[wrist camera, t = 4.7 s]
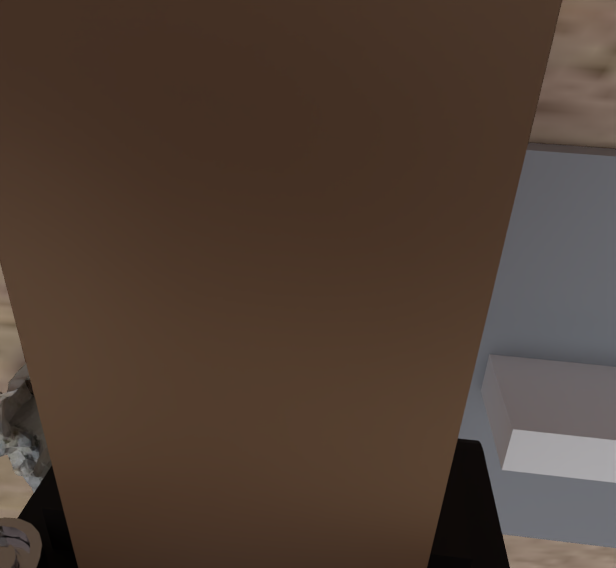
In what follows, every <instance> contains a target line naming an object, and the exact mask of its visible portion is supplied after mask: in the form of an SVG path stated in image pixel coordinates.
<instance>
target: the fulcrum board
mask: <svg viewBox="0 0 616 568" xmlns="http://www.w3.org/2000/svg"><path fill="white" fill-rule="evenodd" d="M458 438H459V439H469V440H478V441H479V442H480V443H481V445H482V448H483V451H484V455H485V460H486V464H487V469H488V473H489V478H490V482H491V486H492V491H493V495H494V500H495V504H496V509H497V513H498V518H499V522H500V527H501V531H502V534H505V535H514V536H522V537H530V538H538V539H546V540H555V541H563V542H571V543H579V544H588V545H596V546H604V547H612V548H616V149H611V148H597V147H583V146H569V145H555V144H541V143H528V146H527V150H526V154H525V158H524V163H523V167H522V171H521V175H520V179H519V184H518V188H517V192H516V196H515V200H514V205H513V209H512V213H511V217H510V221H509V226H508V230H507V234H506V238H505V242H504V247H503V251H502V255H501V259H500V263H499V268H498V272H497V276H496V280H495V284H494V289H493V293H492V297H491V301H490V305H489V310H488V314H487V318H486V322H485V326H484V330H483V335H482V339H481V343H480V347H479V351H478V356H477V360H476V364H475V368H474V372H473V377H472V381H471V385H470V389H469V393H468V398H467V402H466V406H465V410H464V414H463V419H462V423H461V427H460V431H459V435H458Z"/></svg>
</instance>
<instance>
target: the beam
mask: <svg viewBox="0 0 616 568" xmlns="http://www.w3.org/2000/svg"><path fill="white" fill-rule="evenodd" d="M561 3H562V0H0V263H1V267H2V271H3V275H4V279H5V283H6V287H7V291H8V294H9V298H10V302H11V306H12V310H13V314H14V318H15V322H16V326H17V330H18V334H19V338H20V341H21V345H22V349H23V353H24V357H25V361H26V365H27V369H28V373H29V377H30V381H31V385H32V389H33V392H34V396H35V400H36V404H37V408H38V412H39V416H40V420H41V424H42V428H43V432H44V436H45V439H46V443H47V447H48V451H49V455H50V459H51V463H52V467H53V471H54V475H55V479H56V483H57V486H58V490H59V494H60V498H61V502H62V506H63V510H64V514H65V518H66V522H67V526H68V530H69V533H70V537H71V541H72V545H73V549H74V553H75V557H76V561H77V565H78V568H427V566H428V561H429V557H430V553H431V549H432V545H433V540H434V536H435V532H436V528H437V524H438V519H439V515H440V511H441V507H442V503H443V498H444V494H445V490H446V486H447V482H448V477H449V473H450V469H451V465H452V461H453V456H454V452H455V448H456V444H457V440H458V435H459V431H460V427H461V423H462V419H463V414H464V410H465V406H466V402H467V398H468V393H469V389H470V385H471V381H472V377H473V372H474V368H475V364H476V360H477V356H478V351H479V347H480V343H481V339H482V335H483V330H484V326H485V322H486V318H487V314H488V310H489V305H490V301H491V297H492V293H493V289H494V284H495V280H496V276H497V272H498V268H499V263H500V259H501V255H502V251H503V247H504V242H505V238H506V234H507V230H508V226H509V221H510V217H511V213H512V209H513V205H514V200H515V196H516V192H517V188H518V184H519V179H520V175H521V171H522V167H523V163H524V158H525V154H526V150H527V146H528V142H529V137H530V133H531V129H532V125H533V121H534V116H535V112H536V108H537V104H538V100H539V95H540V91H541V87H542V83H543V79H544V75H545V70H546V66H547V62H548V58H549V54H550V49H551V45H552V41H553V37H554V33H555V28H556V24H557V20H558V16H559V12H560V7H561Z"/></svg>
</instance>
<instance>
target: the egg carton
mask: <svg viewBox="0 0 616 568" xmlns="http://www.w3.org/2000/svg"><path fill="white" fill-rule="evenodd" d="M28 379H30V377H29V373H28V369H27V365H26V364H25V365H24V366H23V367H22V368H21V369H20V370H19V371H18V372H17V373H16V374H15V376H14V377H13V378H12V379H11V380H10V382H9V384H8V390H7V393H2V392H0V457H1V456H3V455H8V456H9V459H10V461H11V463H12V466H13V470H14V472H15V473H16V475H18V476H23V477H24V479H25V480H26V482H27V483H28V484H29V485H30V486H31V487H32V490H33V493H34V492H35V490H36V489H37V487H38V486H39V484H40V483H41V481H42V480H43V478H44V476H45V475H46V473H47V472H48V470H49V469H50V467H51V466H52V463H51V459H50V455H49V451H48V447H47V443H46V439H45V436H44V432H43V428H42V424H41V420H40V416H39V412H38V408H37V404H36V400H35V396H33V395H32V394H31V392H30V390H29V389H28V387H27V385H26V382H25V380H28Z"/></svg>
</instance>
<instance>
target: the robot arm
mask: <svg viewBox="0 0 616 568" xmlns="http://www.w3.org/2000/svg"><path fill="white" fill-rule="evenodd" d="M0 568H78V565H77V561H76V557H75V553H74V549H73V545H72V541H71V537H70V533H69V530H68V526H67V522H66V518H65V514H64V510H63V506H62V502H61V498H60V494H59V490H58V486H57V483H56V479H55V475H54V471H53V467H52V466H51V467H50V469H49V470H48V472H47V473H46V475H45V476H44V478H43V480H42V481H41V483H40V484H39V486H38V487H37V489H36V490H35V492H34V494H33V495H32V497H31V498H30V500H29V501H28V503H27V504H26V506H25V507H24V509H23V511H22V512H21V514H20V515H19V517H18V518H0ZM427 568H510V567H509V562H508V558H507V553H506V549H505V544H504V540H503V535H502V531H501V527H500V522H499V518H498V513H497V509H496V504H495V500H494V495H493V491H492V486H491V482H490V478H489V473H488V469H487V464H486V460H485V455H484V451H483V448H482V445H481V443H480V442H479V441H478V440H469V439H459V438H458V440H457V444H456V448H455V452H454V456H453V461H452V465H451V469H450V473H449V477H448V482H447V486H446V490H445V494H444V498H443V503H442V507H441V511H440V515H439V519H438V524H437V528H436V532H435V536H434V540H433V545H432V549H431V553H430V557H429V561H428V566H427Z"/></svg>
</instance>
